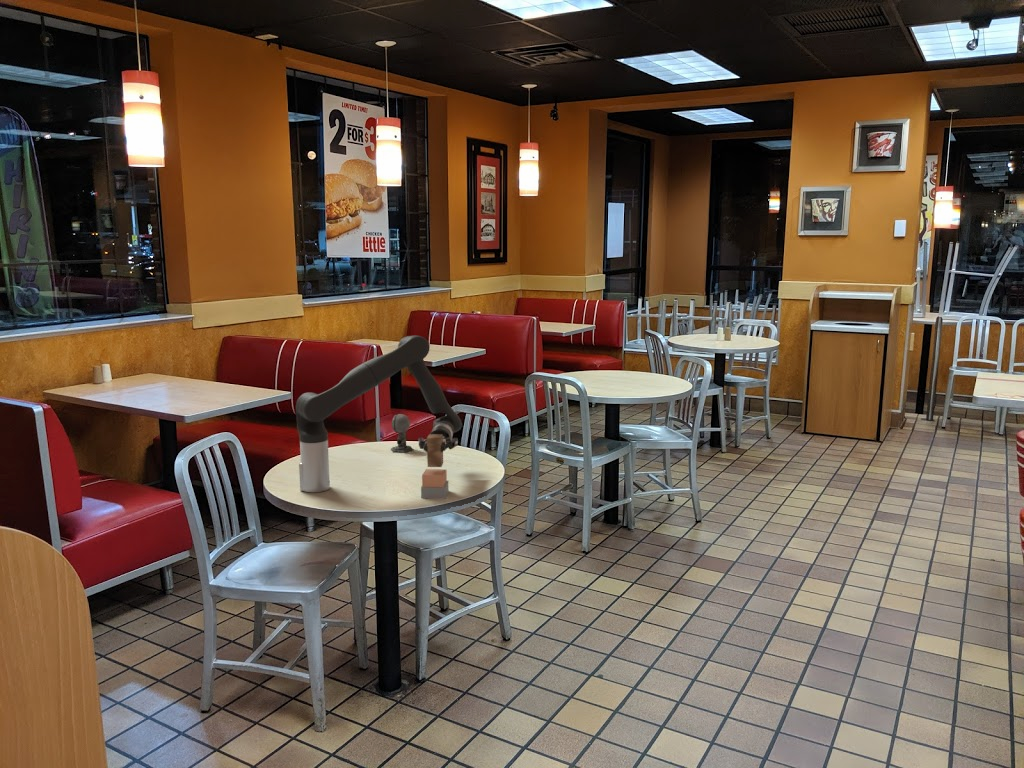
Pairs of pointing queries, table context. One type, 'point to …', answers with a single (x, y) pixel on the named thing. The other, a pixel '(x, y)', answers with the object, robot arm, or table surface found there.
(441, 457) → the walnut block
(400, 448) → the grey round-topped stand
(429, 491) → the tower base
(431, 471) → the tower top
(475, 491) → the table surface
